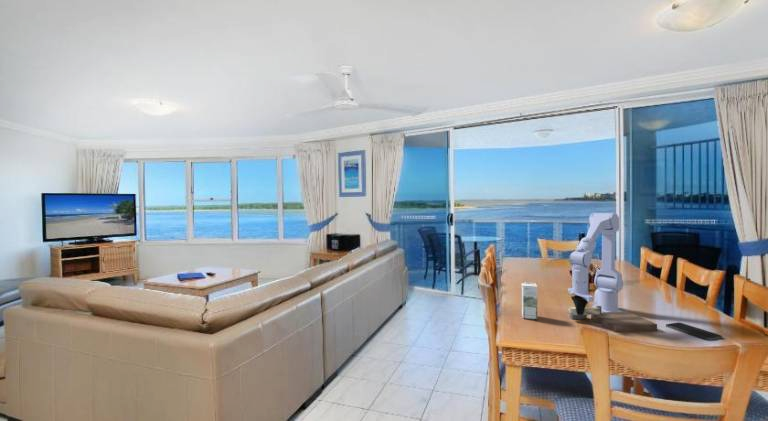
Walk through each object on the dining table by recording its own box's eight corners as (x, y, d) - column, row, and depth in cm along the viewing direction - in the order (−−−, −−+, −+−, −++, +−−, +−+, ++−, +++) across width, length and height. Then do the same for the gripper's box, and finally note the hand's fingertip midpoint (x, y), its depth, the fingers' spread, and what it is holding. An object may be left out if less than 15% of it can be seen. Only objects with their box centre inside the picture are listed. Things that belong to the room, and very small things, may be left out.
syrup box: (535, 315, 154) (535, 282, 154) (537, 320, 149) (537, 285, 148) (521, 314, 156) (521, 281, 156) (523, 319, 150) (522, 284, 150)
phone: (707, 339, 125) (664, 324, 139) (707, 342, 125) (664, 327, 139) (724, 336, 127) (679, 322, 141) (724, 339, 127) (679, 324, 141)
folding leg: (599, 312, 149) (599, 305, 148) (602, 314, 146) (602, 307, 146) (567, 313, 148) (567, 305, 148) (570, 315, 146) (570, 307, 146)
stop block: (569, 317, 151) (569, 309, 151) (583, 317, 151) (583, 309, 151) (572, 319, 149) (572, 311, 149) (586, 318, 149) (586, 310, 149)
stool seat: (591, 318, 149) (591, 312, 149) (628, 317, 150) (628, 311, 150) (615, 332, 134) (615, 325, 134) (657, 330, 135) (657, 324, 135)
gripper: (561, 277, 152) (561, 309, 152) (580, 285, 137) (580, 320, 138) (577, 277, 152) (577, 308, 152) (598, 285, 138) (598, 320, 138)
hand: (580, 314), depth 145 cm, fingers closed
